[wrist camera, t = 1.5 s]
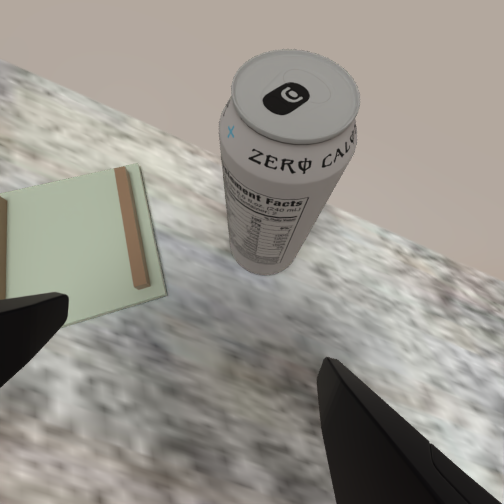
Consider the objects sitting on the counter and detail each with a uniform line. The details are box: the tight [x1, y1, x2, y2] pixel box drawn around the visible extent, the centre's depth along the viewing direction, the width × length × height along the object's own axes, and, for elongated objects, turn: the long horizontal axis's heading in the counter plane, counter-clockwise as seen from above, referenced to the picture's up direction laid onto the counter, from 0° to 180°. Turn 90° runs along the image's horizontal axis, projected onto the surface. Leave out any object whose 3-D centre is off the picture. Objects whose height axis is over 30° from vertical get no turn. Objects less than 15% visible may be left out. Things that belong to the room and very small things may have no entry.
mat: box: [0, 163, 167, 328], centre depth 22 cm, size 14×14×2 cm
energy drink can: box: [219, 49, 360, 275], centre depth 16 cm, size 6×6×15 cm
